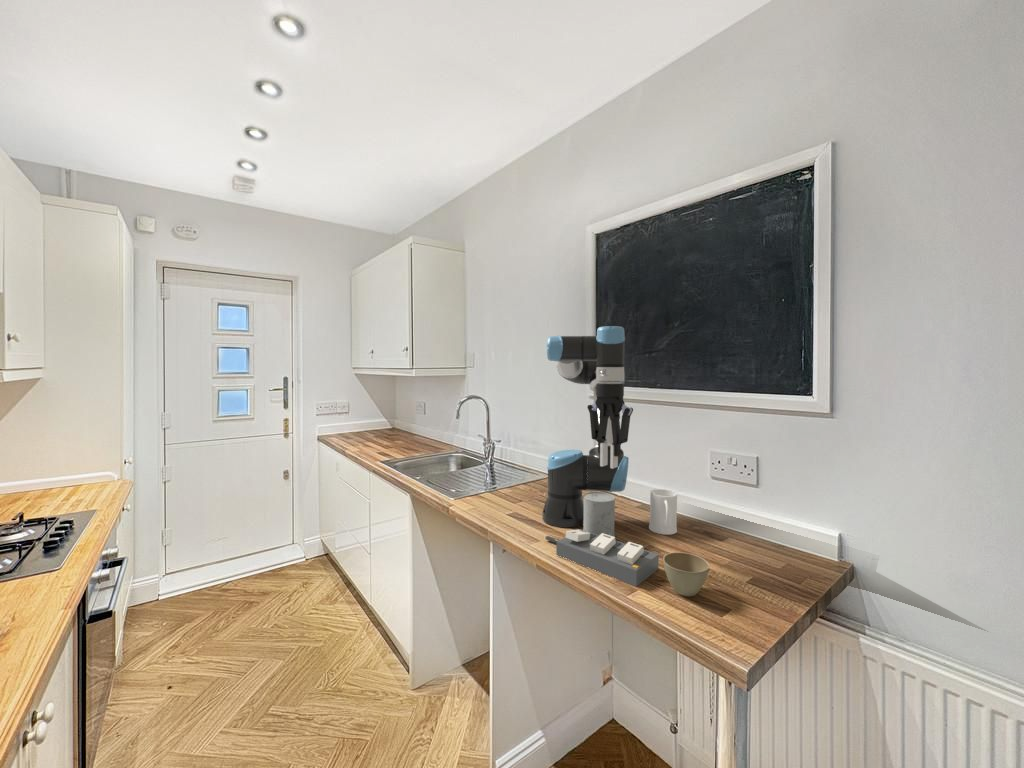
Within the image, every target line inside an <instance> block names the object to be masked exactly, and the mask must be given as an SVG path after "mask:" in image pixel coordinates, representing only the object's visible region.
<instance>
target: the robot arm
mask: <svg viewBox="0 0 1024 768" xmlns="http://www.w3.org/2000/svg"><path fill="white" fill-rule="evenodd" d="M625 341H626V336H625V328H624V327H623V326H620V325H619V326H618V325H617V326H616V325H614V326H613V325H612V326H609V325H607V326H604V325H603V326H600V327H598V328H597V330H596V335H581V336H580V335H570V336H569V335H557V336H549V337H548V338H547V341H546V358H547V359H548V361H551V362H556V368H557V372H558V374H559V375H560V376H561V377H562V378H563V379H564V380H567V381H569V382H572V383H573V384H577V385H589V389H590V390H591V391H592V392H593V403H592V404H588V405H587V410H588V412H589V421H590V432H591V435H590V436H591V439H592V440H593V446H592V447H591V448H590V449H589V451H588V455H586V454H585V455H584V452H583V451H582V450H580V449H563V450H558V451H555V452H554V451H553V453H550V455H548V459H547V466H546V469H547V498H546V500H545V503H544V505H543V510H542V513H541V514H542V521H543V522H545V524H548V525H550V526H554V527H559V528H575V527H580V526H583V524H584V498H583V491H589V492H590V491H591V492H604V493H607V492H608V493H612V492H613V493H616V492H617V493H619V492H620V493H622V492H623V491H624V490H625V489H626V485H627V478H628V470H629V457H628V456H625V454H624V450H623V449H622V448H621V445H622V444H625V443H627V442H628V441H629V440H628V439H629V430H630V423H631V422H630V421H631V415H632V414H633V411H634V408H633V407H629V406H627V405H626V404H625V403H626V402H625V401H624V395H625V394H624V393H625V391H624V390H625V385H624V384H625V380H626V376H625V375H626V373H625ZM621 413H622V415H621ZM620 419H621V422H620Z"/></svg>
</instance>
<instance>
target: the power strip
mask: <svg viewBox="0 0 1024 768" xmlns="http://www.w3.org/2000/svg"><path fill="white" fill-rule="evenodd" d="M581 530H582V531H584V530H583V529H581ZM585 532H588V531H585ZM588 533H590V540H585V541H579V542H577V541H574V540H571V539H568V538H565V537H564V538H561V539H558V538H555V537H552V536H549V535H546V536H545V539H546V540H547V541H550V542H552V543H554V544H556V555H558V556H561V557H564V558H567V559H569V560H571V561H574V562H576V563H578V564H577V565H579V564H581V565H584V566H586V567H589V568H591V569H590V570H592V569H594V570H596V571H595V572H597V571H599V572H601V573H600V574H602V573H604V574H606V575H605V576H607V575H608V577H610V576H611V577H610V578H612V577H614V578H613V579H615V578H616V580H617V579H619V580H618V581H620V580H621V581H620V582H622V581H623V583H625V582H626V584H628V585H630V586H633V587H636V588H637V587H638V586H639V585H640V584H642V583H643V582H644V581H646V580H647V579H648V578H649V577H651V576H652V575H653V574H655V573H656V572H657V571H659V557H660V555H659V553H656V552H652V551H649V550H647V549H644V548H643V550H644V553H643V554H642V555H641V556H640V557H639V558H638V559H637V560H636V561H635V563H634V564H633V565H631V564H628V563H625V562H623V561H620V560H618V557H617V553H618V552H619V551H620V550H621V549H622V548H623V547H624V546H625V545H626V544H627V543H624V542H622V541H618V540H616V539H615V541H616V543H615V544H614V545H613V546H612V547H611V548H610V549H609V550H608V551H607V552H606V553H605V554H604V555H603V554H600V553H597V552H594V551H591V548H590V544H591V543H592V542H593V541H594V540H595V539H596V538H597V537H598V536H599V535H597V534H594V533H591V532H588ZM556 555H555V556H556ZM558 556H557V557H558ZM561 557H560V558H561ZM571 561H570V562H571ZM574 562H573V563H574ZM576 563H575V564H576ZM581 565H580V566H581ZM584 566H583V567H584ZM586 567H585V568H586ZM589 568H588V569H589ZM594 570H593V571H594ZM599 572H598V573H599ZM604 574H603V575H604Z"/></svg>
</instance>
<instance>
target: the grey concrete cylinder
mask: <svg viewBox="0 0 1024 768" xmlns="http://www.w3.org/2000/svg"><path fill="white" fill-rule="evenodd" d="M582 498H583V502H584V524H583V525H582V526H583V527H582V530H584V531H588V532H591V533H594V534H597V535H601V534H602V533H603V534H607V535H610V536H613V537H615V517H616V514H615V509H616V507H615V503H616V497H615V495H613V494H611V493H609V492H608V493H607V492H604V491H591V492H590V491H589V492H587V493H585V494H583V495H582ZM615 538H616V537H615Z"/></svg>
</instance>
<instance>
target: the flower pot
mask: <svg viewBox="0 0 1024 768" xmlns="http://www.w3.org/2000/svg"><path fill="white" fill-rule="evenodd" d="M662 559H663V560H662V561H663V562H662V563H663V567H664V572H665V574H666V577H667V580H668V582H669V584H670V585H671V587H672V589H673V591H674V592H675V593H677V594H678V595H680V596H683V597H694V596H696V595H697V594H698V593H699V592H700V590H701V589H702V588H703V586H704V584H705V582H706V580H707V577H708V574H709V570H710V564H709V562H708V561H707V560H706V559H705V558H703V557H701V556H699V555H696V554H694V553H689V552H682V551H681V552H680V551H673V552H669V553H667V554H665V555H664V556H663V557H662Z"/></svg>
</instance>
